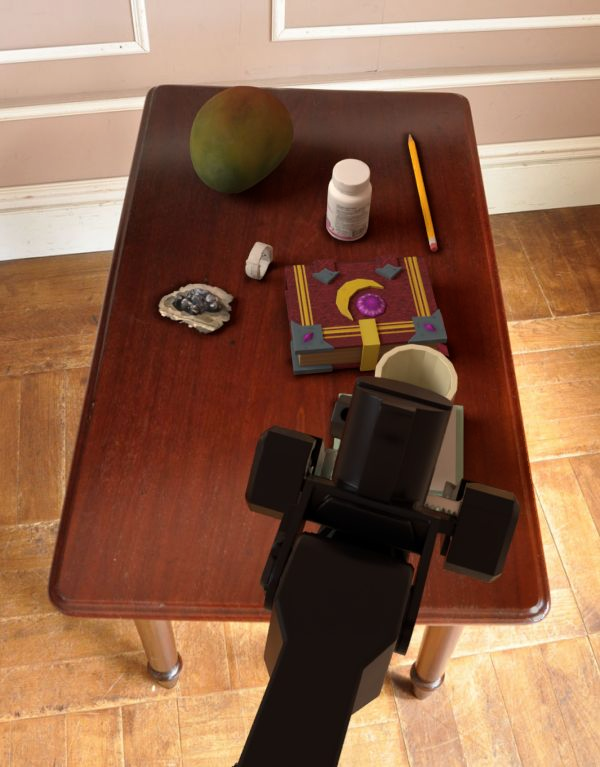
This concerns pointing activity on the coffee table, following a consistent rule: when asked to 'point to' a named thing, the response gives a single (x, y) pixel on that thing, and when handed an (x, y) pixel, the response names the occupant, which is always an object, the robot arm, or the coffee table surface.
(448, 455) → the scale
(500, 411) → the coffee table surface
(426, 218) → the pencil
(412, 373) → the cup
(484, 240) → the coffee table surface
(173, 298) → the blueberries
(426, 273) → the decorative book
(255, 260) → the smartwatch
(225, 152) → the fruit
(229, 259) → the coffee table surface
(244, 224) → the coffee table surface
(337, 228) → the pill bottle
